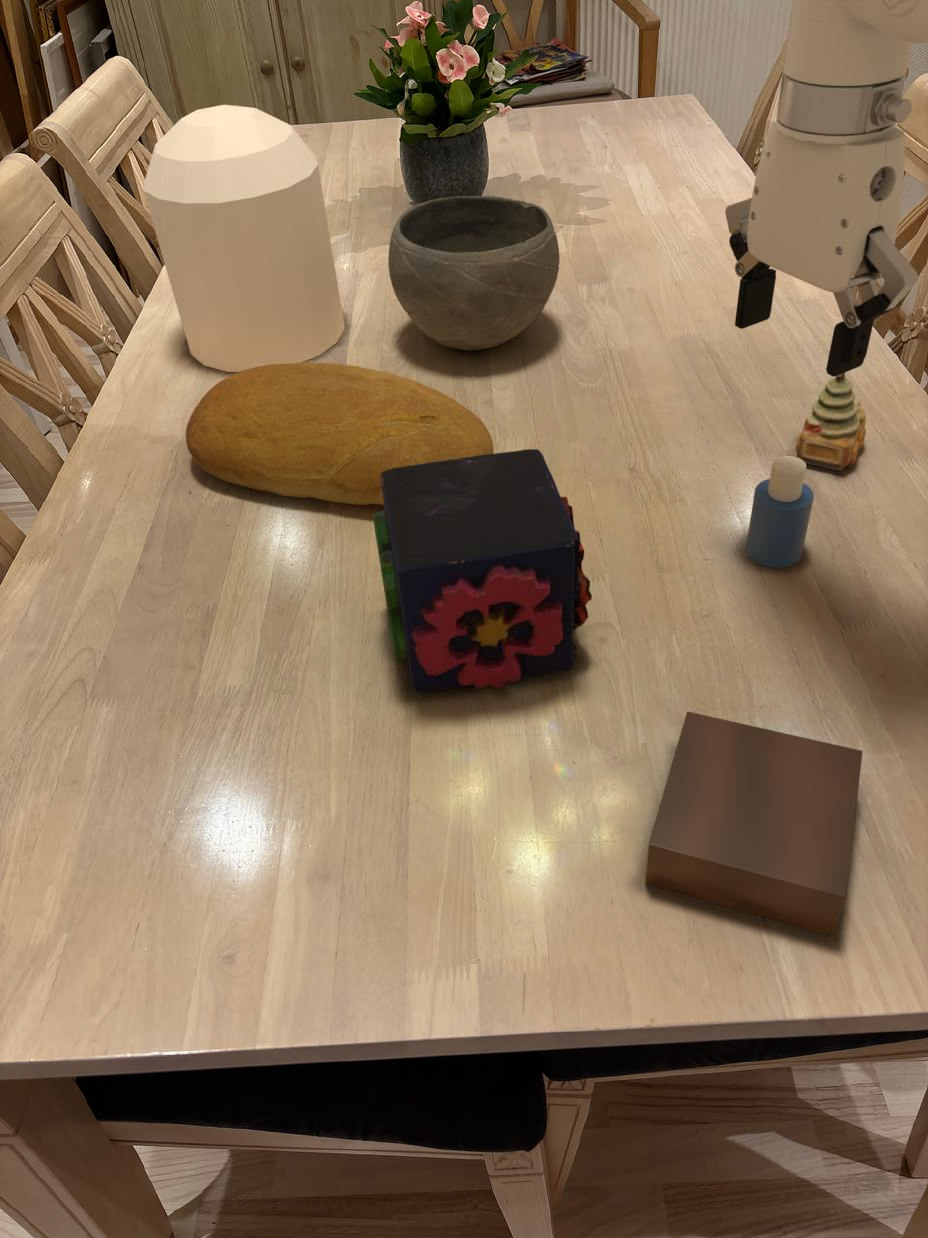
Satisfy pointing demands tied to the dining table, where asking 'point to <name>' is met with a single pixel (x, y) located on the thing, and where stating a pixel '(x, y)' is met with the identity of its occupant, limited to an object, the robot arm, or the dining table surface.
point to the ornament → (833, 427)
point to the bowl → (473, 268)
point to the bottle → (780, 515)
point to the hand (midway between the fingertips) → (796, 345)
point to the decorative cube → (480, 570)
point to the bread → (326, 430)
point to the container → (244, 239)
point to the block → (757, 822)
